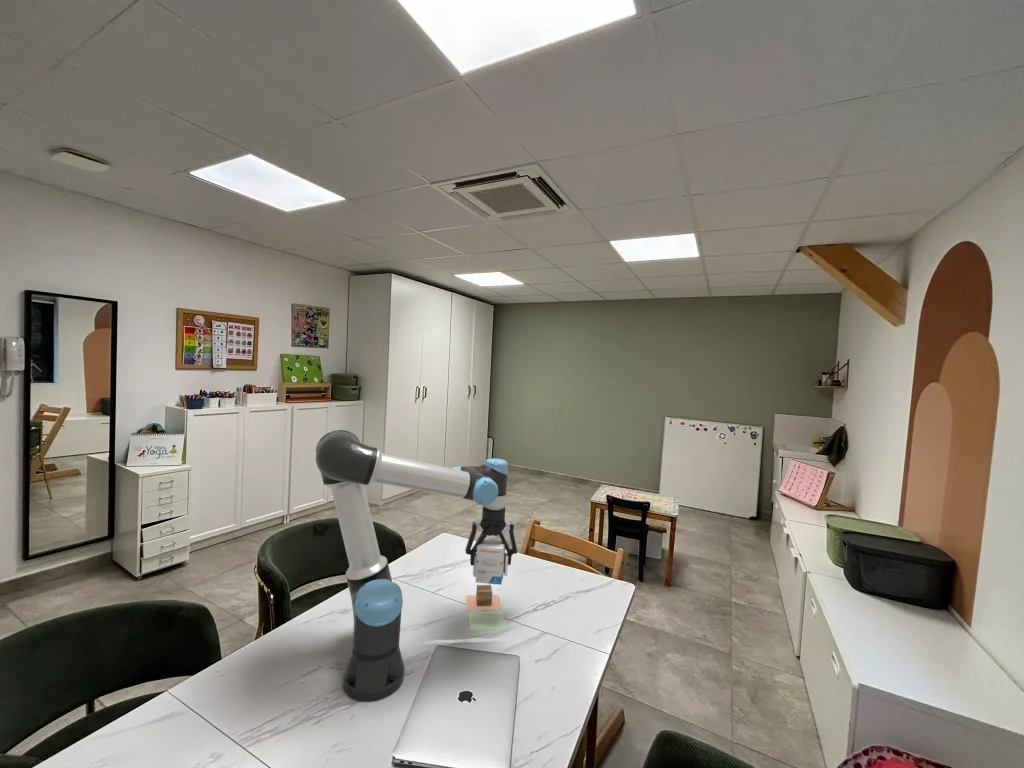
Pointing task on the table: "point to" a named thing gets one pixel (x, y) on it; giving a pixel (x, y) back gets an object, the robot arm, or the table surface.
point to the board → (485, 614)
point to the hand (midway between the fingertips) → (489, 574)
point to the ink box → (490, 561)
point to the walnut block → (484, 595)
